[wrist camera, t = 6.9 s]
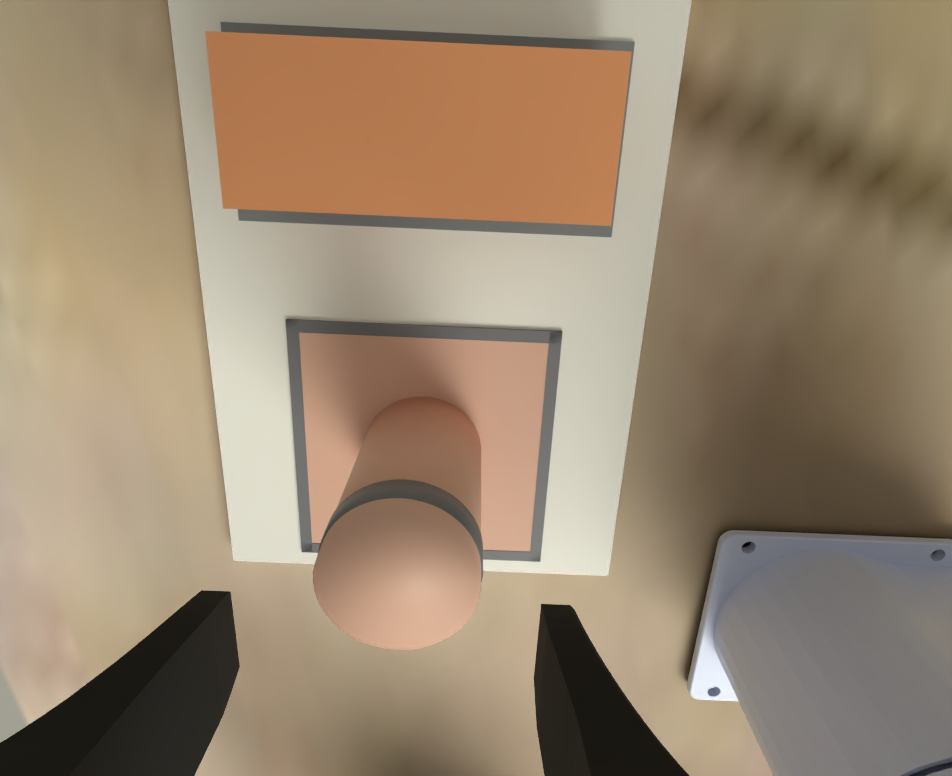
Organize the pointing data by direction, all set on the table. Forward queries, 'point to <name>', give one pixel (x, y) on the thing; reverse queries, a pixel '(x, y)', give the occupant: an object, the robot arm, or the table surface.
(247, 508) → the picture board
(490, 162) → the button
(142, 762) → the robot arm
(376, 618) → the cylinder
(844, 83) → the table surface
